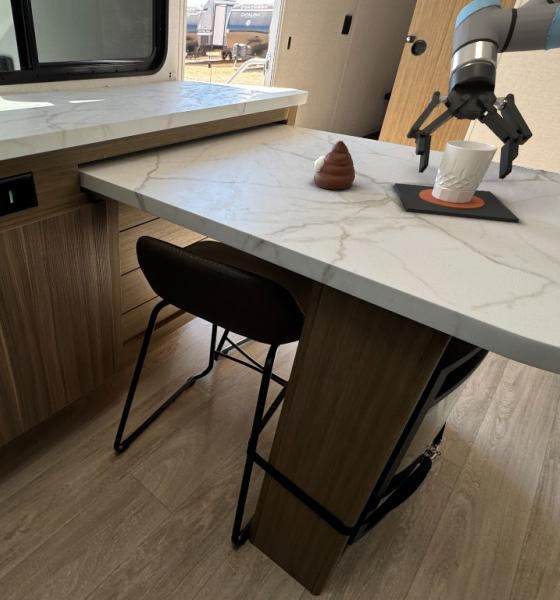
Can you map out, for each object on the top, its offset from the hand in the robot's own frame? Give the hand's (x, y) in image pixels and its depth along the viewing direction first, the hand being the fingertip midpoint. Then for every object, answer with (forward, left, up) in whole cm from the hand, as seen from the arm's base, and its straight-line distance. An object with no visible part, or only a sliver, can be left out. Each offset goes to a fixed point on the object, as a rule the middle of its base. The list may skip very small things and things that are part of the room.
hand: (463, 172), depth 78 cm
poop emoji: (+22, -5, -6) cm, 24 cm away
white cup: (0, 0, -5) cm, 5 cm away
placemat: (0, 0, -6) cm, 6 cm away
